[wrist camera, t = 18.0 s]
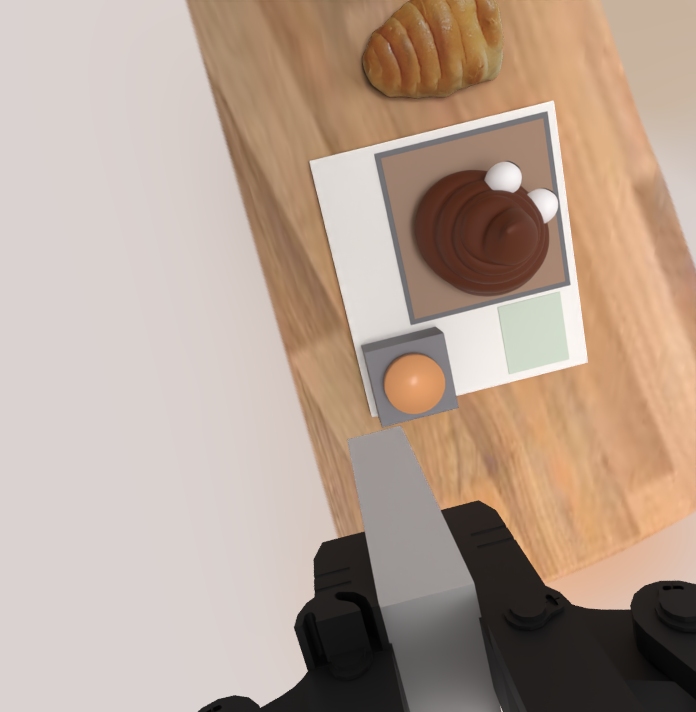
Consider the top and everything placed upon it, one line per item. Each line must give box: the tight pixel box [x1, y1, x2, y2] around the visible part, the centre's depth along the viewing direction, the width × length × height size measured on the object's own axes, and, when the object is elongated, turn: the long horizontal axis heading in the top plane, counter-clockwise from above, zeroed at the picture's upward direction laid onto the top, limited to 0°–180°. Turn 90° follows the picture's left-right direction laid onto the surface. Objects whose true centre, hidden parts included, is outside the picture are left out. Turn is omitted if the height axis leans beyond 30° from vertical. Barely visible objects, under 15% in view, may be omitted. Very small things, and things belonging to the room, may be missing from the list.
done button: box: [384, 353, 445, 414], centre depth 41 cm, size 4×4×3 cm
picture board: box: [309, 101, 588, 427], centre depth 41 cm, size 20×18×4 cm
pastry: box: [363, 0, 504, 98], centre depth 37 cm, size 9×7×4 cm
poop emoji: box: [415, 161, 558, 297], centre depth 36 cm, size 10×8×9 cm
